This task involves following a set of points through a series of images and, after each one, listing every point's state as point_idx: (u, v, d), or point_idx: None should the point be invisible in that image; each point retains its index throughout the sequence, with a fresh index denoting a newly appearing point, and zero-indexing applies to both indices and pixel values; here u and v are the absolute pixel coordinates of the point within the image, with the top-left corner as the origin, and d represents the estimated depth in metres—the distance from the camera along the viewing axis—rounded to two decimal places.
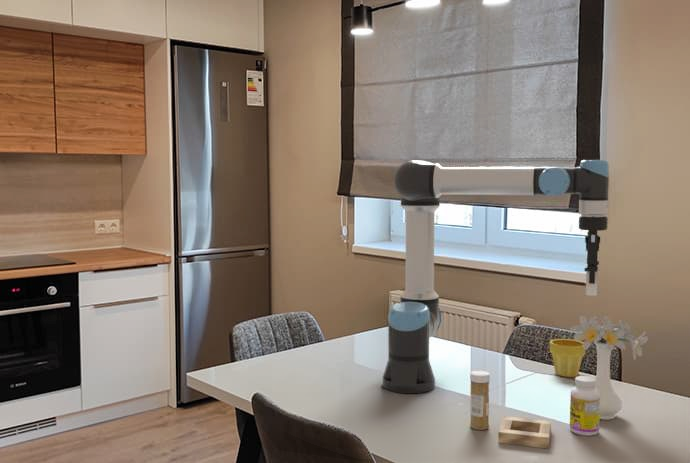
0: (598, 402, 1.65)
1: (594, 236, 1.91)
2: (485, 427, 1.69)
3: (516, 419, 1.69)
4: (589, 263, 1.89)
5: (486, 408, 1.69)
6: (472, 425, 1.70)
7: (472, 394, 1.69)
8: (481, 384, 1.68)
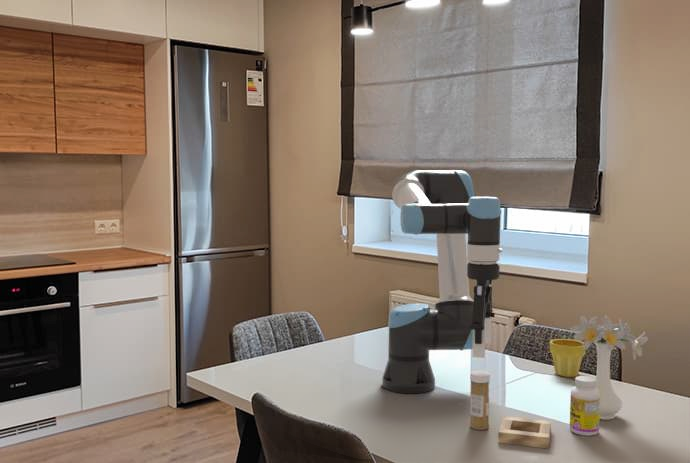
0: (598, 402, 1.65)
1: (481, 288, 1.62)
2: (485, 427, 1.69)
3: (516, 419, 1.69)
4: (474, 320, 1.60)
5: (486, 408, 1.69)
6: (472, 425, 1.70)
7: (472, 394, 1.69)
8: (481, 384, 1.68)
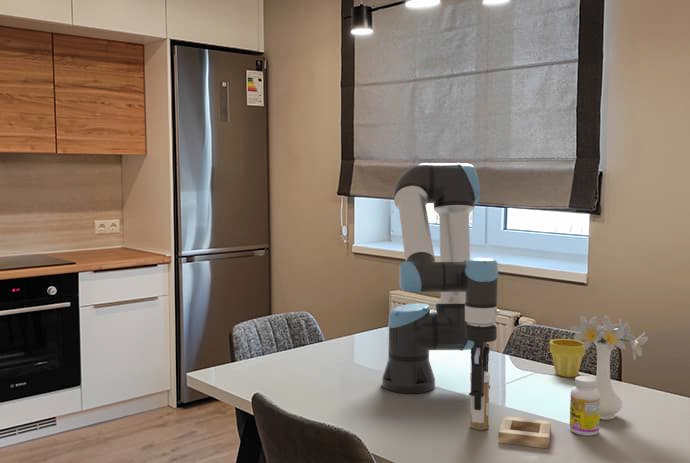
0: (598, 402, 1.65)
1: (478, 358, 1.63)
2: (485, 427, 1.69)
3: (516, 419, 1.69)
4: (473, 389, 1.65)
5: (486, 408, 1.69)
6: (472, 425, 1.70)
7: None
8: None
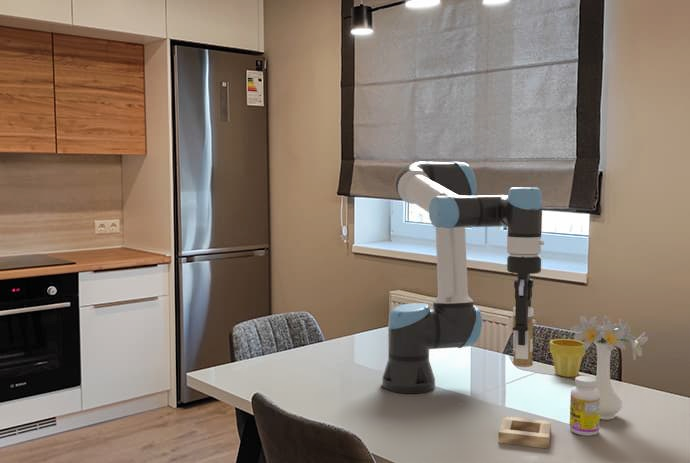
0: (598, 402, 1.65)
1: (522, 289, 1.56)
2: (529, 364, 1.61)
3: (516, 419, 1.69)
4: (517, 322, 1.57)
5: (530, 344, 1.61)
6: (515, 362, 1.62)
7: None
8: None
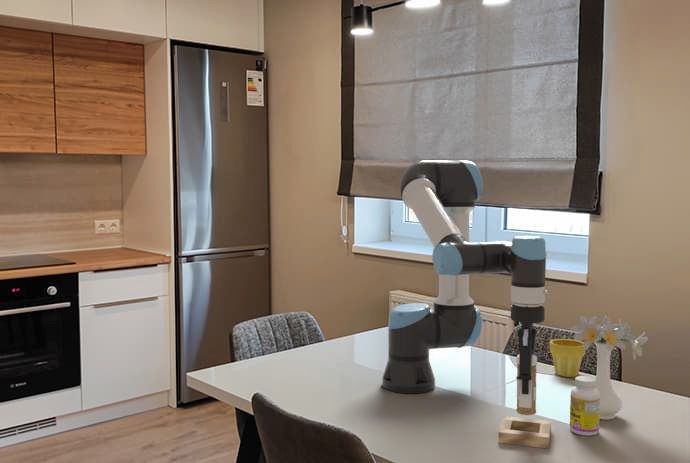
0: (598, 402, 1.65)
1: (526, 340, 1.56)
2: (533, 412, 1.62)
3: (516, 419, 1.69)
4: (521, 372, 1.58)
5: (534, 392, 1.62)
6: (519, 410, 1.63)
7: None
8: None
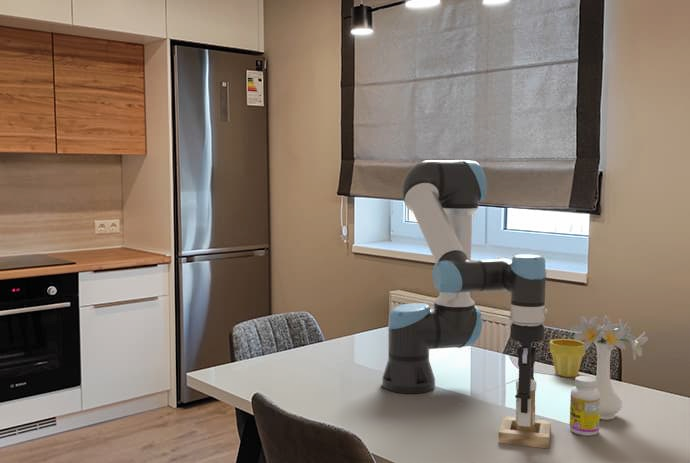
0: (598, 402, 1.65)
1: (526, 357, 1.56)
2: None
3: None
4: (520, 391, 1.57)
5: (533, 417, 1.62)
6: None
7: None
8: None
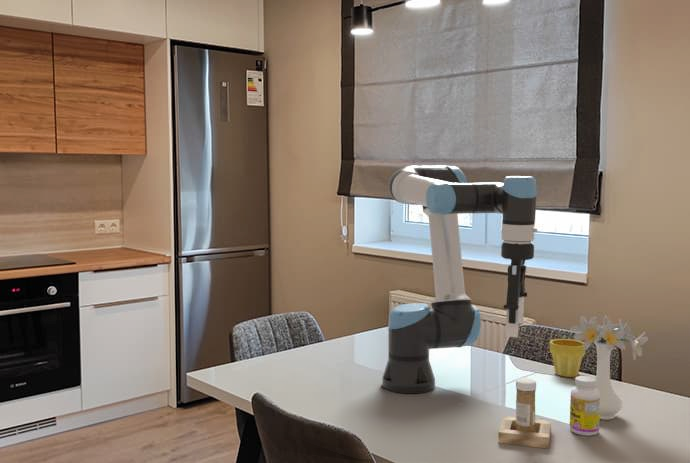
0: (598, 402, 1.65)
1: (515, 268, 1.61)
2: None
3: None
4: (508, 300, 1.60)
5: (533, 417, 1.62)
6: None
7: (518, 402, 1.63)
8: (528, 392, 1.62)
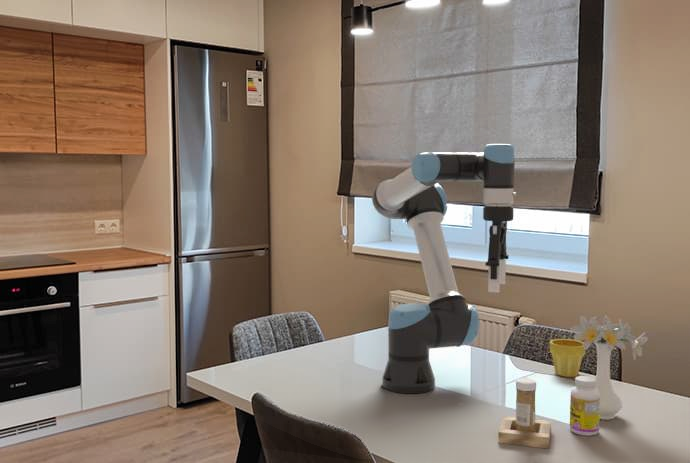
0: (598, 402, 1.65)
1: (496, 227, 1.74)
2: None
3: None
4: (489, 257, 1.72)
5: (533, 417, 1.62)
6: None
7: (518, 402, 1.63)
8: (528, 392, 1.62)
